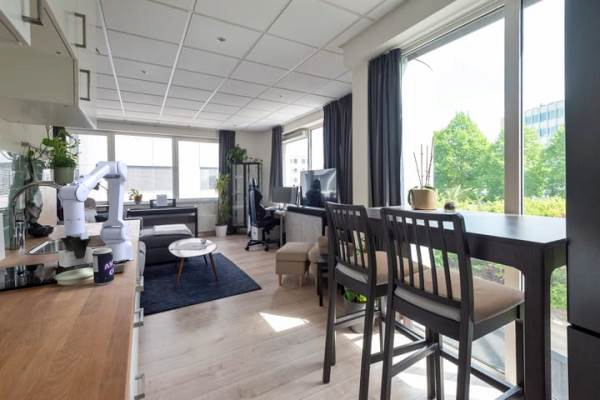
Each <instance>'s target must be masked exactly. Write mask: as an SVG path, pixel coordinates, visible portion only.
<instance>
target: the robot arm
mask: <svg viewBox="0 0 600 400" xmlns="http://www.w3.org/2000/svg"><path fill="white" fill-rule="evenodd" d="M128 169H129V168H128V166H127V164H126V163H125V161H124V160H119V161H117V160H116V161H115V160H113V161H112V160H111V161H110V160H109V161H107V160H105V161H104V160H100V161H98V162H96V163H95V167H94V168H93V170H91V171H90V172H89V173H88V174H86V173H85V174H80V175H79V177H78V178H77V179H75V180H73V181H72V182H71V183H70V184H68V185H63V186H62V187H60V188H59V189H58V193H57V197H58V198H57V199H58V200H59V201H60V205H61V207H62V208H63V222H64V223H63V224H64V225H63V226H64V230H63V231H62V232H61V233H60V236H63V237H60V240H61V241H62V243H63V244H64V246H65V248H66V249H65V250H67V249H72V248H74V252H75V256H76V259H81V258H84V257H85V253H86V248H87V247H88V246H89V243H90V241H91V240H92V239H91V237H89V232H87V230H86V215H85V212H86V211H85V201H87V199H88V196H89V194H90V192H91V191H92V190H93V189H94V188H95V187H96V186H97V185H98V181H99V180H100V179H104V181H105V182H109V184H110V190H109V202H108V203H109V206H108V217H107V218H108V219H107V220H106V221H104V222H103V223H102V224H101V229H100V231H99V238H100V240H101V241H102V242H103V244H105V247H111V250H112V251H113V261H118V260H122V259H129V260H130V261H134V255H133V254H134V251H133V244H132V242H131V240H129V238H130V236H131V235H130V234H131V232H130V231H131V230H130V227H129V223H128V222H127V221H125V220H124V219H123V218H124V217H123V215H124V213H123V212H124V198H125V197H124V196H125V182H126V181H127V180H128Z"/></svg>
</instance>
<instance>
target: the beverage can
mask: <svg viewBox="0 0 600 400" xmlns="http://www.w3.org/2000/svg"><path fill="white" fill-rule="evenodd" d="M92 258H93V262H92V268H93V275H94V280H93V283H94V284H96V285H97V286H106V285H108V284H111V283H112V282H113V281H114V280H115V271H114V264H113V251H112V250H111V247H106V246H103V247H97V248H94V249H93V251H92Z"/></svg>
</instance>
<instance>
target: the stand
mask: <svg viewBox="0 0 600 400" xmlns="http://www.w3.org/2000/svg"><path fill="white" fill-rule="evenodd" d="M54 278H55V280H56V281H57V285H58V286H74V285H81V284H85V283H88V282H91V281H94V275H93V267H84V268H83V267H82V268H76V269H70V270H67V271H63V272H60V273H58V274H56V275H55V276H54Z"/></svg>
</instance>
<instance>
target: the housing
mask: <svg viewBox="0 0 600 400" xmlns="http://www.w3.org/2000/svg"><path fill="white" fill-rule="evenodd" d="M92 253H93V248H92V247H88V246H87V248H86V253H85V257H84V258H81V259H76V256H75V252H74V248H72V249H64V250H58V263H59V264H58V265H59V266H60V267H63V268H69V267H74V266H79V265H84V264H88V263H93V257H92Z"/></svg>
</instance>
